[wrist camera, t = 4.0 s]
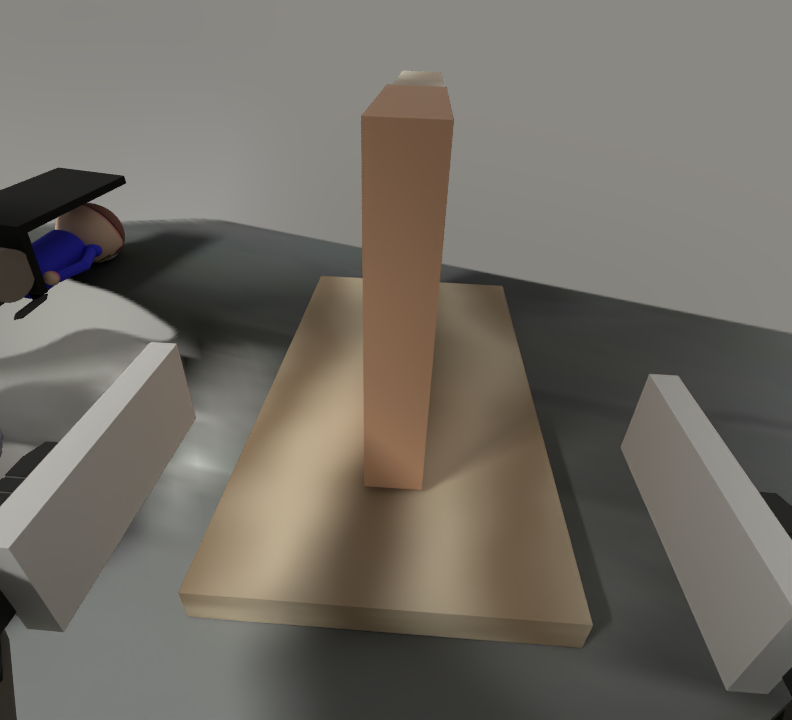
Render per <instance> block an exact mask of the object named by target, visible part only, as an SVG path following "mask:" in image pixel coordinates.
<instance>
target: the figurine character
mask: <svg viewBox="0 0 792 720" xmlns="http://www.w3.org/2000/svg"><path fill="white" fill-rule="evenodd" d="M125 183H126V181H125V178H124V176H121V175H113V174H105V173H97V172H89V171H81V170H73V169H65V168H56V169H54V170H51V171H48V172H46V173H43V174H41V175H38V176H36V177H33V178H31V179H28V180H26V181H23V182H20V183H18V184H15V185H13V186H10V187H8V188H5V189H2V190H0V306H1V305H2V304H4V303H5V302H7V303H11V302H15V301H18V300H20V299H22V298H23V297H25V298H30V299H33V301H32V302H30V303H29V304H27V305H26V306H25V307H24V308H22V309H21V310H20V311H18V312H17V313H16V314H15V317H14V320H16V319H21V318H24V317H25V316H26V315H28V314H29V313H30V312H31V311H33V310H34V309H35V308H36V307H38V306H39V305H40V304H41V303H43V302H44V301H45V300H46V299H47V296H48V294H45V293H47V292H48V290H49V289H50V288H52V287H53V286H54V285H56V284H58V283H59V282H62V281H64V280H66V279H68V278H71V277H73V276H75V275H77V274H80V273H82V272H84V271H86V270H89V269H90V266H91V264H92V263H100V262H105V261H108V260H110V259H112V258H114V257H115V256H116V255H117V254H118V253H119V252H120V251H121V249H122V248H123V245H124V241H125V233H124V229H123V226H122V224H121V222H120V221H119V219H118V218H117V217H116V216H115V215H114V214H113V213H112V212H111V211H109V210H108V209H106V208H104V207H102V206H100V205H97V204H92V203H87V202H89V201H91V200H93V199H95V198H97V197H99V196H101V195H103V194H105V193H107V192H109V191H111V190H113V189H115V188H117V187H119V186H121V185H123V184H125ZM57 217H58V219H57V221H56V225H55V230H52V231H50V232H49V233H47V234H46V235H44V236H43V237H41V238H40V239H38V240H36V241H35V242H33V243H32V244H31V241H30V238H29V236H28V233H27V232H29V231H31V230H33V229H35V228H37V227H39V226H41V225H43V224H45V223H47V222H49V221H51V220H53V219H55V218H57Z"/></svg>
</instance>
